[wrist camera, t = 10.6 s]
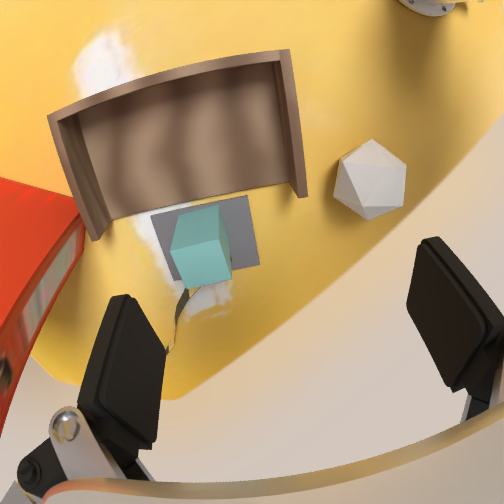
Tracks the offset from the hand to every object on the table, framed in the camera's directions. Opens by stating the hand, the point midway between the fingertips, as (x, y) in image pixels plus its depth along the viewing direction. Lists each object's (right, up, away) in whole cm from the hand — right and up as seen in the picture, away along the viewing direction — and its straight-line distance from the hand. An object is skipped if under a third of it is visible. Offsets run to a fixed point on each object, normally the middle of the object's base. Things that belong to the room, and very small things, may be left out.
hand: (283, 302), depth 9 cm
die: (+12, +12, +26) cm, 31 cm away
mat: (-7, +3, +29) cm, 30 cm away
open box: (-9, +14, +22) cm, 27 cm away
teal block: (-7, +5, +28) cm, 29 cm away
